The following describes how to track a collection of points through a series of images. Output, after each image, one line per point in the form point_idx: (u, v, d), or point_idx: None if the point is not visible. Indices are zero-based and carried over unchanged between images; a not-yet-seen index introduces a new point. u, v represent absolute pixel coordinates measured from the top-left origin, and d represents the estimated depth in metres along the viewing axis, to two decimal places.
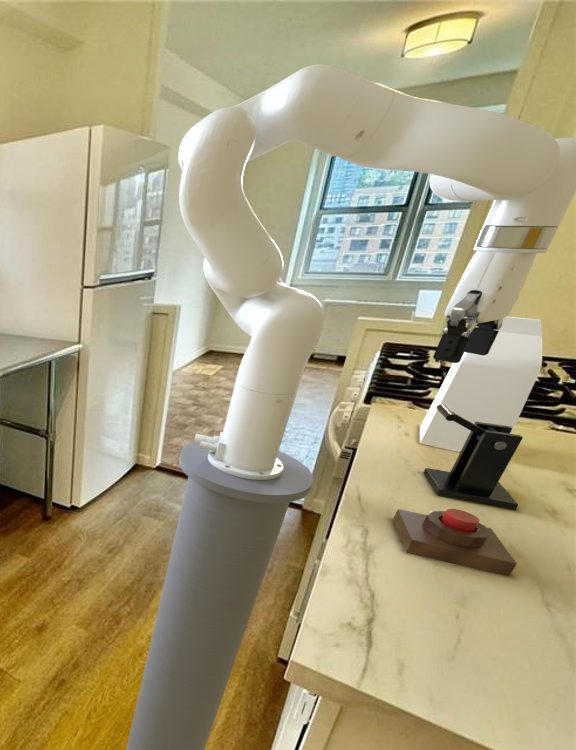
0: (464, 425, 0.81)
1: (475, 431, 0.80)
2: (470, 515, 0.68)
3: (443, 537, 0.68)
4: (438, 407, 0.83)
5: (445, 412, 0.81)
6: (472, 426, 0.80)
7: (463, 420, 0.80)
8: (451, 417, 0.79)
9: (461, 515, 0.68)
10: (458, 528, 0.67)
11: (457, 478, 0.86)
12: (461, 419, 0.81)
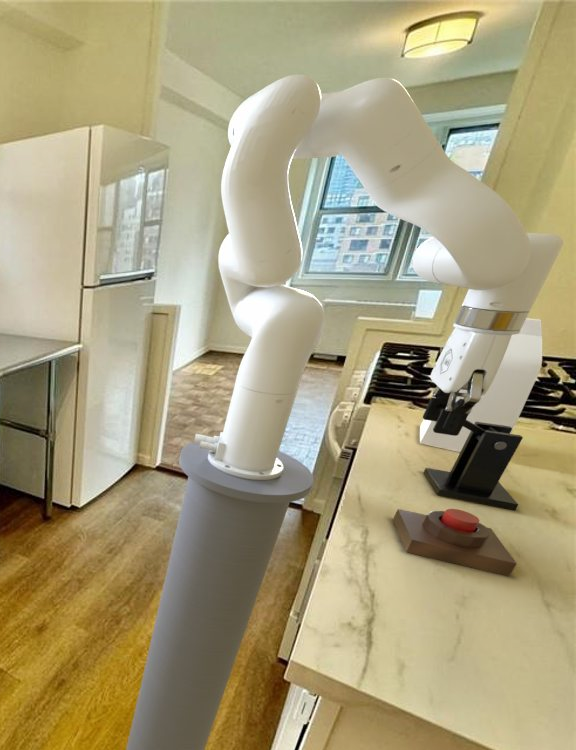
0: (464, 425, 0.81)
1: (475, 431, 0.80)
2: (470, 515, 0.68)
3: (443, 537, 0.68)
4: (438, 407, 0.83)
5: None
6: (472, 426, 0.80)
7: None
8: None
9: (461, 515, 0.68)
10: (458, 528, 0.67)
11: (457, 478, 0.86)
12: None
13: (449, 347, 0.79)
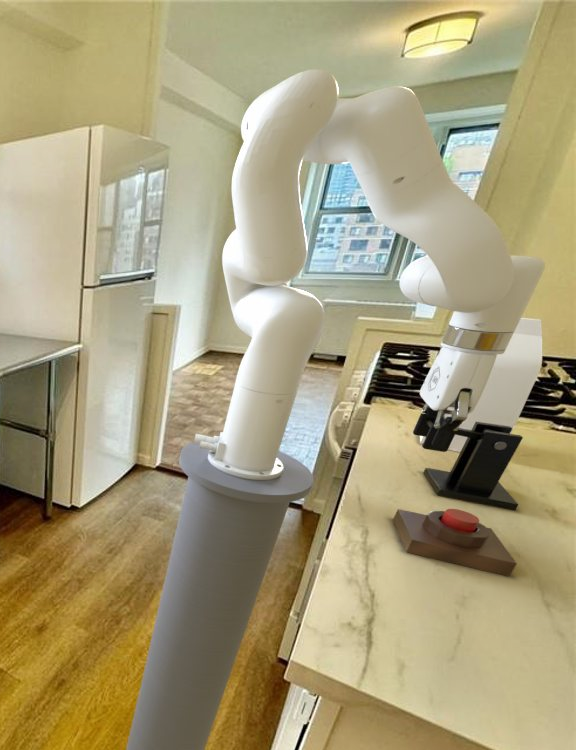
0: (457, 433, 0.81)
1: (471, 436, 0.81)
2: (470, 515, 0.68)
3: (443, 537, 0.68)
4: (426, 421, 0.85)
5: None
6: (465, 432, 0.81)
7: None
8: None
9: (461, 515, 0.68)
10: (458, 528, 0.67)
11: (457, 478, 0.86)
12: None
13: (437, 365, 0.81)
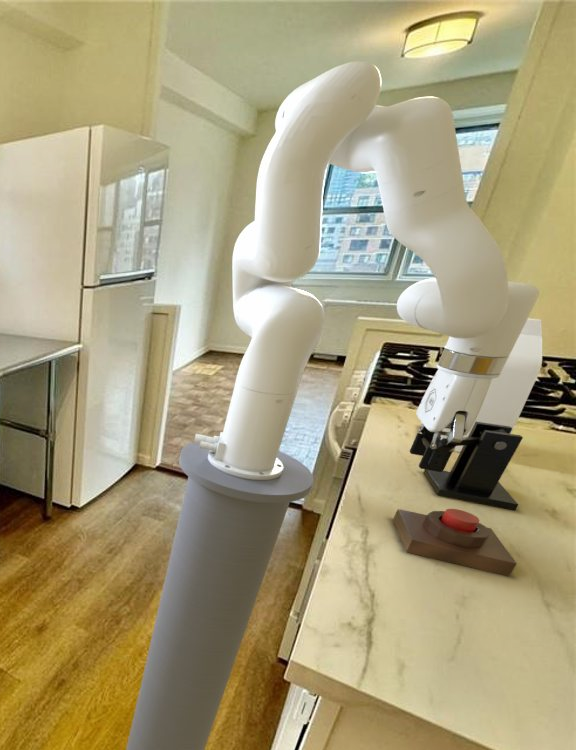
0: None
1: (470, 443, 0.81)
2: (470, 515, 0.68)
3: (443, 537, 0.68)
4: (421, 441, 0.86)
5: (426, 447, 0.84)
6: (462, 441, 0.82)
7: None
8: None
9: (461, 515, 0.68)
10: (458, 528, 0.67)
11: (457, 478, 0.86)
12: None
13: (433, 387, 0.82)
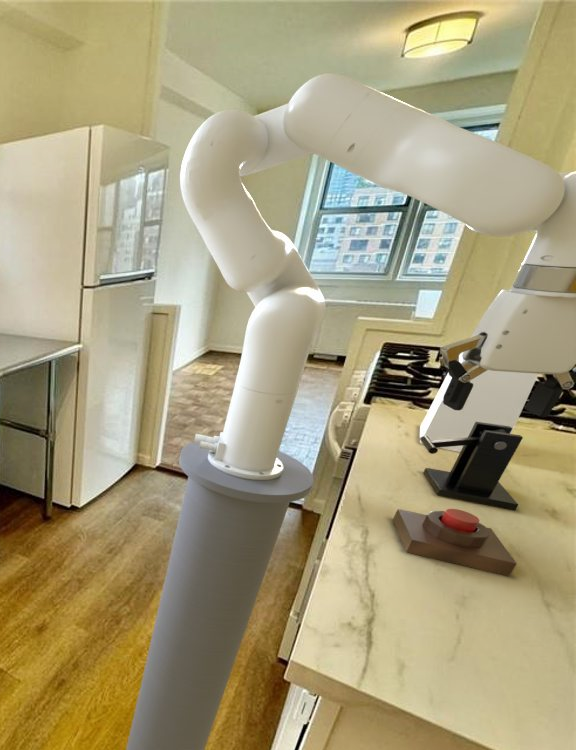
0: (455, 445, 0.82)
1: (470, 443, 0.81)
2: (470, 515, 0.68)
3: (443, 537, 0.68)
4: (421, 441, 0.86)
5: (426, 447, 0.84)
6: (462, 442, 0.82)
7: (449, 442, 0.82)
8: (433, 450, 0.82)
9: (461, 515, 0.68)
10: (458, 528, 0.67)
11: (457, 478, 0.86)
12: (446, 442, 0.83)
13: None
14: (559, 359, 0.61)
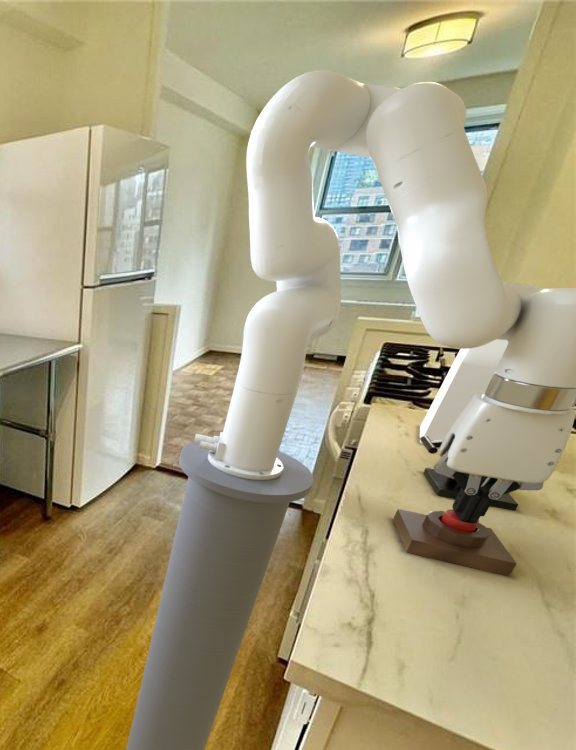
0: None
1: None
2: None
3: (443, 537, 0.68)
4: (421, 441, 0.86)
5: (426, 447, 0.84)
6: None
7: None
8: (433, 450, 0.82)
9: None
10: (458, 529, 0.67)
11: None
12: None
13: None
14: (529, 469, 0.61)
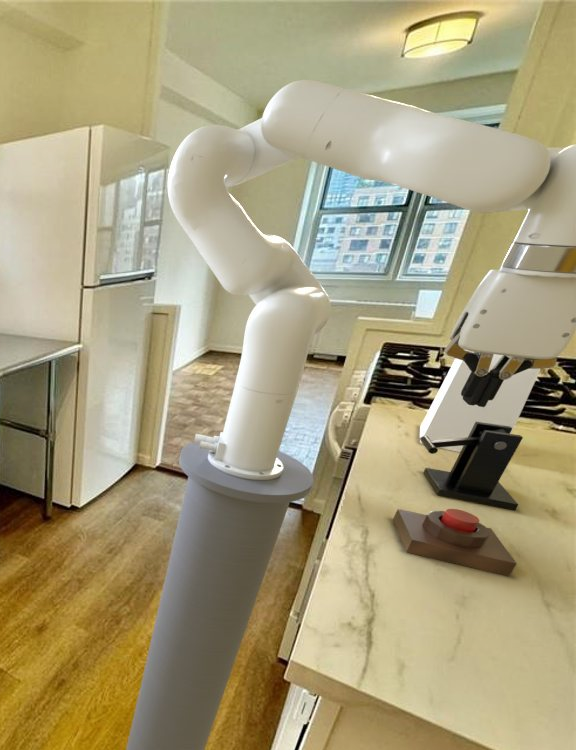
0: (455, 445, 0.82)
1: (470, 443, 0.81)
2: (470, 515, 0.68)
3: (443, 537, 0.68)
4: (421, 441, 0.86)
5: (426, 447, 0.84)
6: (462, 442, 0.82)
7: (449, 442, 0.82)
8: (433, 450, 0.82)
9: (461, 515, 0.68)
10: (458, 528, 0.67)
11: (457, 478, 0.86)
12: (446, 442, 0.83)
13: None
14: (543, 343, 0.60)
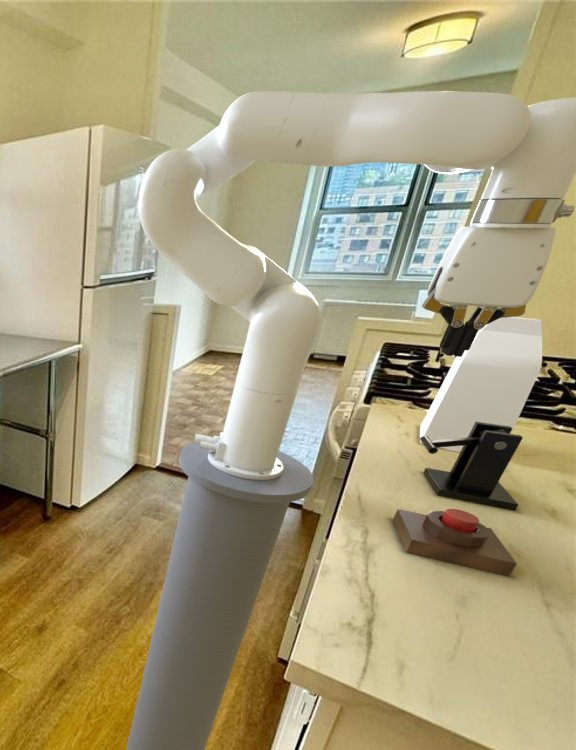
0: (455, 445, 0.82)
1: (470, 443, 0.81)
2: (470, 515, 0.68)
3: (443, 537, 0.68)
4: (421, 441, 0.86)
5: (426, 447, 0.84)
6: (462, 442, 0.82)
7: (449, 442, 0.82)
8: (433, 450, 0.82)
9: (461, 515, 0.68)
10: (458, 528, 0.67)
11: (457, 478, 0.86)
12: (446, 442, 0.83)
13: None
14: (512, 291, 0.64)
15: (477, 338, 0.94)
